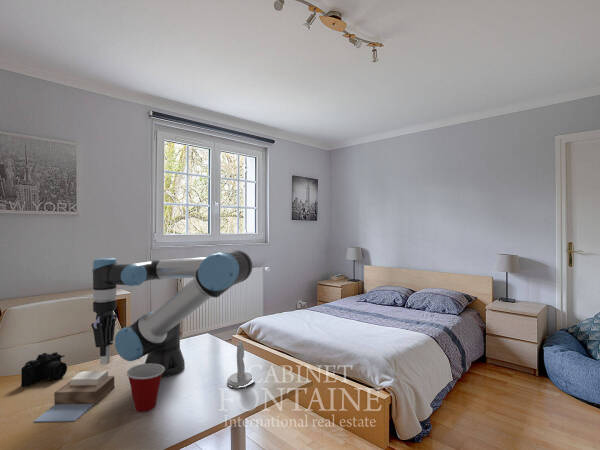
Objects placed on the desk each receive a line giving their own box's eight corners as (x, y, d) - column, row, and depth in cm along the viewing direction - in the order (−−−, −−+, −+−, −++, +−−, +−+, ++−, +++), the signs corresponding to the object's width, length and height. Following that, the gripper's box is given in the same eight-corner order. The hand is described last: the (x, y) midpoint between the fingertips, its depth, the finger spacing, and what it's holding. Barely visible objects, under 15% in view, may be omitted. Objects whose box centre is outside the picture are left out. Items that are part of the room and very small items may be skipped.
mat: (93, 404, 106) (93, 403, 106) (75, 421, 97) (75, 420, 97) (55, 405, 105) (55, 404, 105) (33, 422, 96) (33, 421, 96)
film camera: (39, 390, 115) (38, 364, 116) (16, 387, 117) (16, 362, 118) (76, 371, 130) (76, 348, 130) (56, 369, 132) (56, 346, 132)
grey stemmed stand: (256, 375, 125) (256, 336, 125) (251, 388, 115) (251, 345, 115) (230, 375, 126) (230, 336, 126) (223, 388, 116) (223, 345, 116)
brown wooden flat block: (114, 387, 117) (114, 376, 117) (96, 404, 106) (95, 391, 106) (76, 388, 117) (76, 376, 117) (54, 404, 106) (54, 392, 106)
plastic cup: (161, 414, 100) (161, 374, 100) (122, 419, 97) (122, 378, 97) (167, 396, 110) (167, 360, 110) (132, 400, 108) (132, 363, 108)
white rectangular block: (107, 376, 116) (107, 371, 116) (97, 384, 110) (97, 378, 110) (81, 377, 116) (81, 371, 116) (70, 385, 110) (70, 379, 110)
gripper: (104, 296, 129) (104, 356, 129) (83, 304, 116) (83, 371, 116) (123, 296, 129) (124, 356, 129) (105, 304, 116) (105, 371, 116)
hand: (104, 363), depth 123 cm, fingers closed
